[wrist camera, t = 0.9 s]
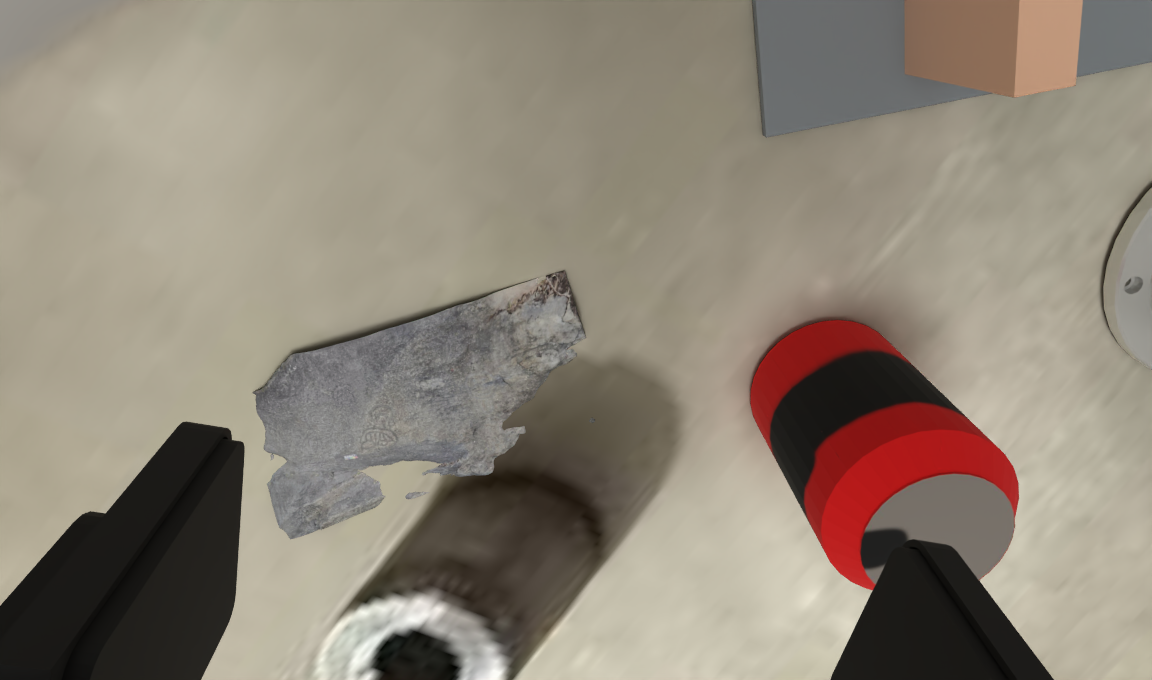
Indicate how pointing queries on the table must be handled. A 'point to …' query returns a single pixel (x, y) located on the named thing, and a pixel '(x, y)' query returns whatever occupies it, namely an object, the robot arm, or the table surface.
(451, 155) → the table surface
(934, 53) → the tile
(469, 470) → the stone slab
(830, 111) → the mat
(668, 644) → the table surface
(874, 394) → the soda can
